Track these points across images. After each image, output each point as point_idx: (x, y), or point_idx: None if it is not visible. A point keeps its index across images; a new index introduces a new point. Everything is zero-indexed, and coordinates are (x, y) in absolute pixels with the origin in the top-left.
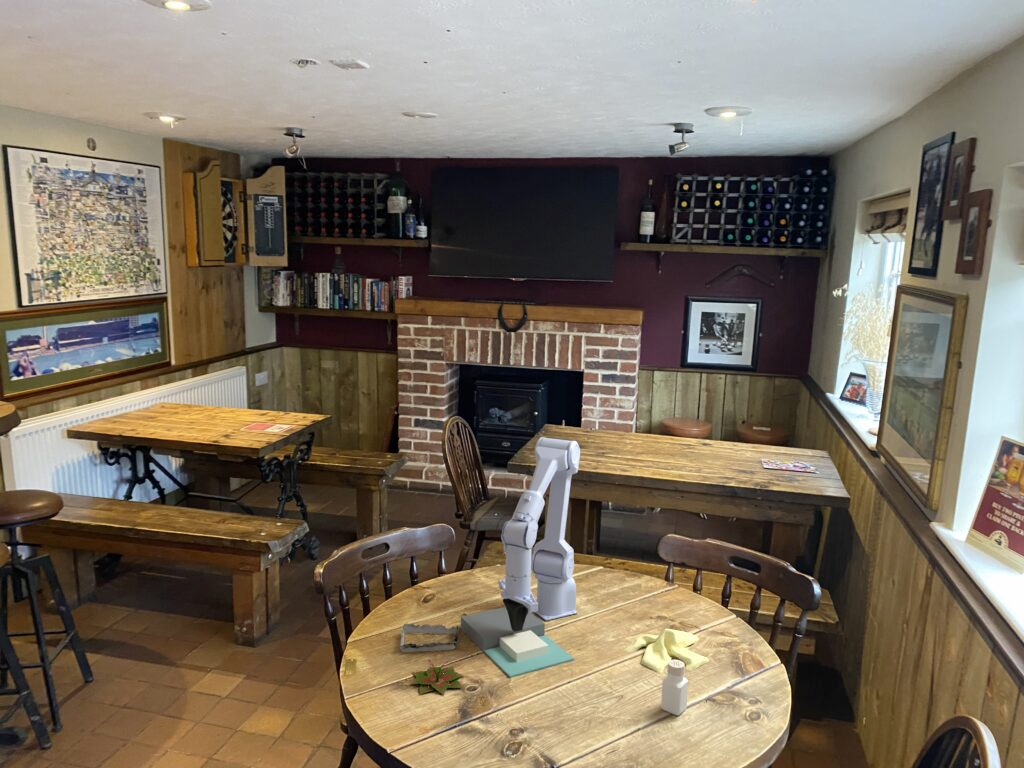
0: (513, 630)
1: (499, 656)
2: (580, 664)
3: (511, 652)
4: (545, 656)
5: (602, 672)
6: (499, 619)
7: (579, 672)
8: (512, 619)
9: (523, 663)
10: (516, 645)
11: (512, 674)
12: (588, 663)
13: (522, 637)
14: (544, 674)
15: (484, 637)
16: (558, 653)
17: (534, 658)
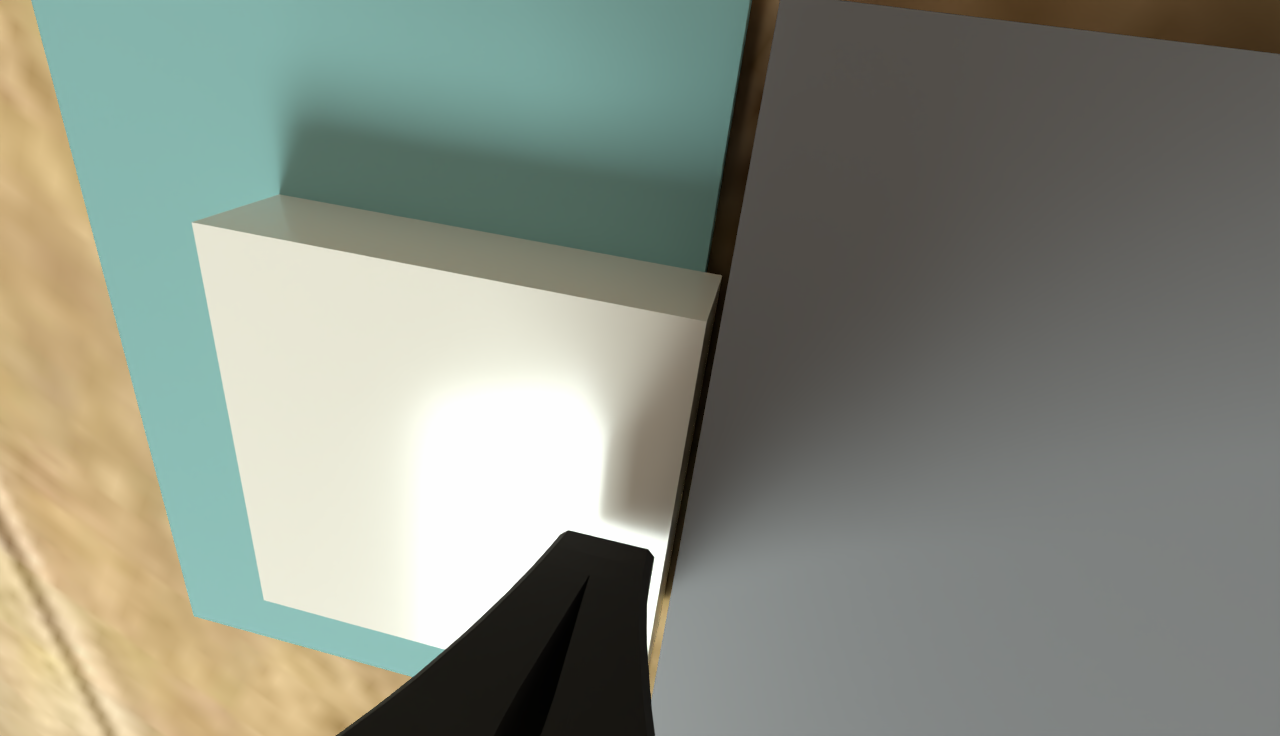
0: (587, 539)
1: (482, 94)
2: (141, 591)
3: (372, 234)
4: None
5: (18, 609)
6: (1140, 660)
7: (38, 513)
8: (473, 679)
9: None
10: (383, 355)
11: None
12: (142, 633)
13: (532, 539)
14: (49, 287)
15: (800, 38)
16: None
17: None
